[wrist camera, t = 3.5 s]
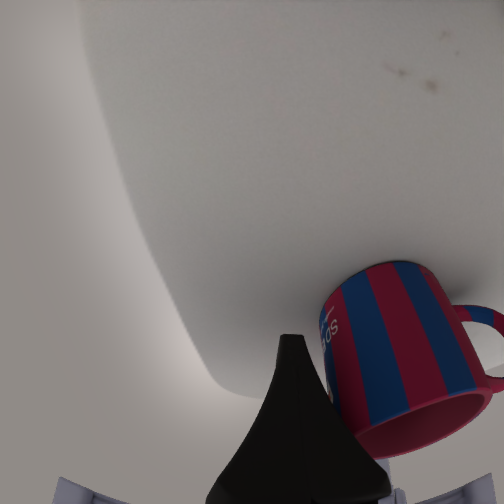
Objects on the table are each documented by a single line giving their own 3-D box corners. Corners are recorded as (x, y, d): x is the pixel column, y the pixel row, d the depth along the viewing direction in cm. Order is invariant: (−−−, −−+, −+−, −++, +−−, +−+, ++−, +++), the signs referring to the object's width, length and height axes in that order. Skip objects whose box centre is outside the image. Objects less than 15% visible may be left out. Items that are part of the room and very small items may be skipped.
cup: (318, 268, 12) (344, 419, 7) (497, 247, 11) (566, 343, 6) (317, 358, 16) (327, 468, 10) (463, 332, 15) (499, 419, 9)
